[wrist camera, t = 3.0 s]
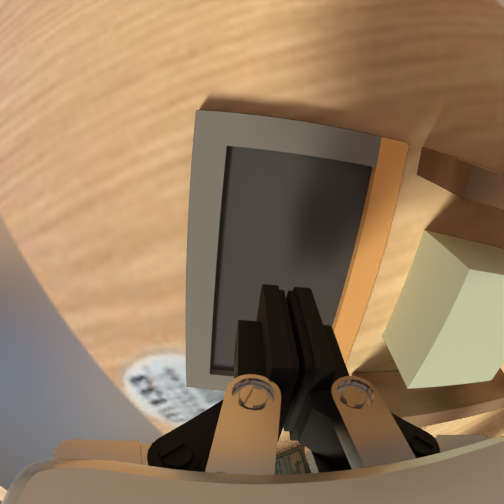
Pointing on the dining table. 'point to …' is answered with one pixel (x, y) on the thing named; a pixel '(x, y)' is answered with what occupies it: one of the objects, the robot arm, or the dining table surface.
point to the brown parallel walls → (462, 395)
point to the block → (449, 314)
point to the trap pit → (281, 226)
